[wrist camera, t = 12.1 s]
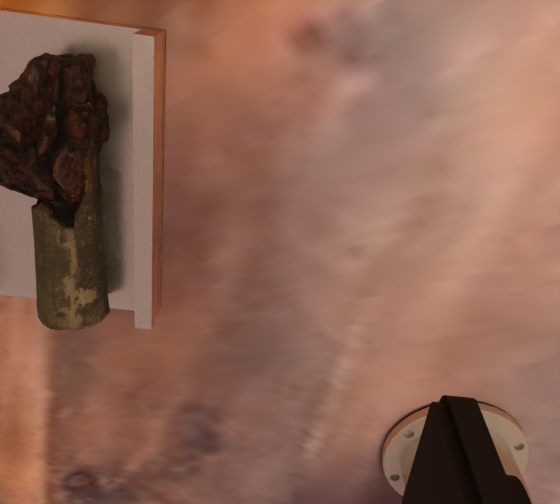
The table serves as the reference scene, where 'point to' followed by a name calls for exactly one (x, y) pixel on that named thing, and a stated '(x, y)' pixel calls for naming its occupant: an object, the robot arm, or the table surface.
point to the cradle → (113, 157)
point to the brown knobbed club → (60, 182)
